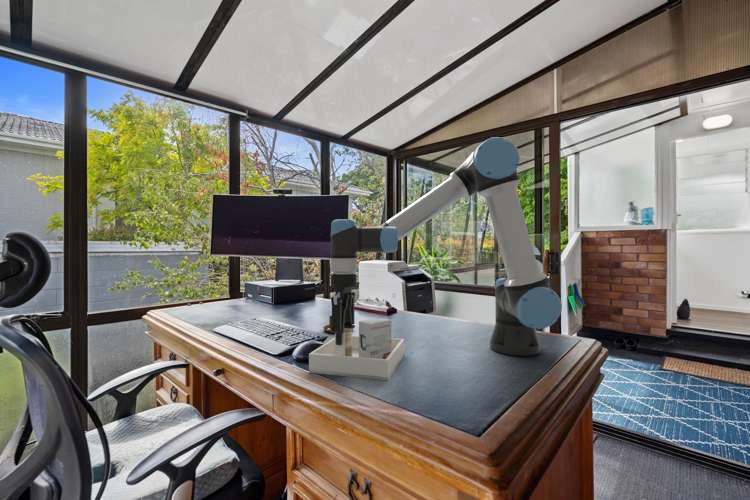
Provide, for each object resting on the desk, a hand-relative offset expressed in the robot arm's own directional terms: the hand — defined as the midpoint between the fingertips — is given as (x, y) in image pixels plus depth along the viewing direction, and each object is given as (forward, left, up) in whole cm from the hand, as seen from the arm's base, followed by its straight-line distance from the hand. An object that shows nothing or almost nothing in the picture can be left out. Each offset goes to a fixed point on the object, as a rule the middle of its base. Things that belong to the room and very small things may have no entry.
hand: (343, 352), depth 103 cm
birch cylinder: (0, 0, -1) cm, 1 cm away
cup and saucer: (+15, -35, -3) cm, 38 cm away
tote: (-5, 0, -3) cm, 6 cm away
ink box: (-10, 0, -2) cm, 10 cm away
